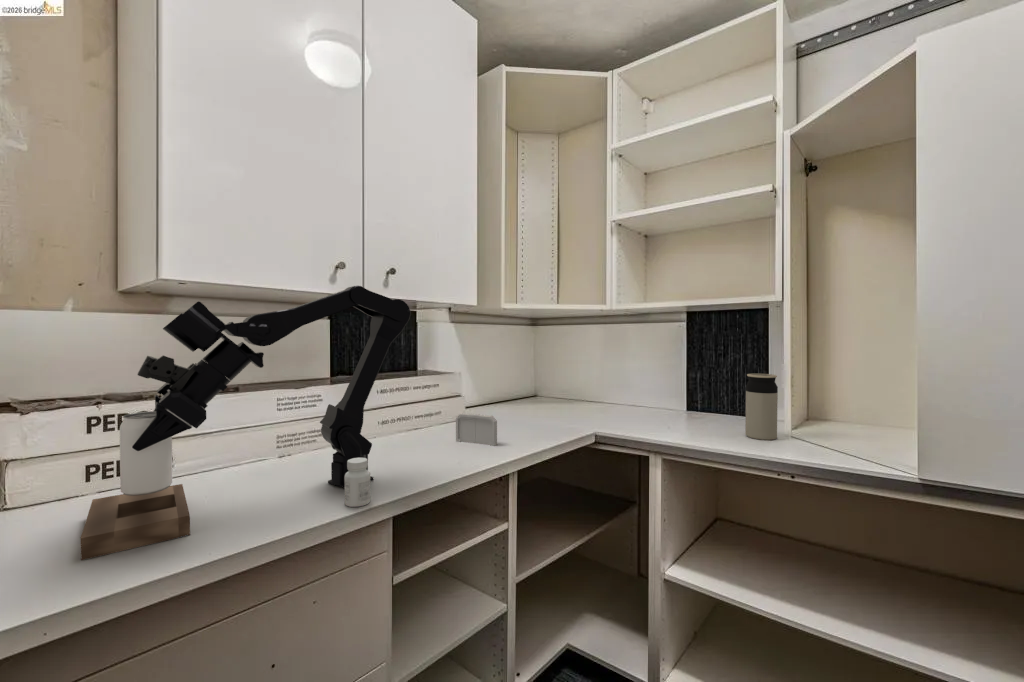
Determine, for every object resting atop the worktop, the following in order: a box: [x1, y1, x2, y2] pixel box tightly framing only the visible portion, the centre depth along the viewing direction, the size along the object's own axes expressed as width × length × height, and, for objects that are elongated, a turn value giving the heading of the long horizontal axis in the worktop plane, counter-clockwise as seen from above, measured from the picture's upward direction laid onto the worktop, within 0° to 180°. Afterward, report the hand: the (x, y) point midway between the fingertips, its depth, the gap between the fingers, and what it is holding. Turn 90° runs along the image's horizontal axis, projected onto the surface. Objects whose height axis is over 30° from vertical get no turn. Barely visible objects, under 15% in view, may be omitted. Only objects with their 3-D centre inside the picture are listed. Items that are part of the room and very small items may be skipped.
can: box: [119, 410, 173, 496], centre depth 72 cm, size 6×6×12 cm
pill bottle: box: [344, 458, 372, 508], centre depth 81 cm, size 4×4×8 cm
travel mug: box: [744, 373, 779, 441], centre depth 130 cm, size 8×8×18 cm
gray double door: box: [455, 412, 498, 447], centre depth 124 cm, size 2×12×8 cm, turn 65°
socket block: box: [80, 483, 191, 561], centre depth 72 cm, size 12×18×3 cm, turn 39°
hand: (135, 445), depth 71 cm, fingers closed on can, 6 cm apart
